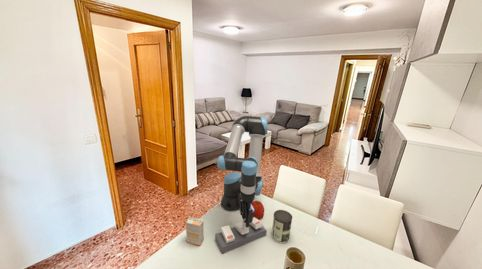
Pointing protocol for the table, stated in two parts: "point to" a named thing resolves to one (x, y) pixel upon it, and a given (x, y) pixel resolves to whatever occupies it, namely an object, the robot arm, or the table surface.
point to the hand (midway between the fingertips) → (245, 230)
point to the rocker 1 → (227, 234)
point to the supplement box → (195, 231)
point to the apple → (258, 209)
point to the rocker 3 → (256, 223)
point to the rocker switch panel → (239, 238)
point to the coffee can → (281, 226)
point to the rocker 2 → (240, 228)
